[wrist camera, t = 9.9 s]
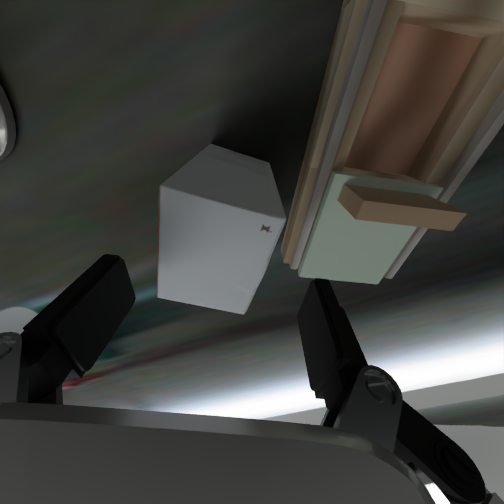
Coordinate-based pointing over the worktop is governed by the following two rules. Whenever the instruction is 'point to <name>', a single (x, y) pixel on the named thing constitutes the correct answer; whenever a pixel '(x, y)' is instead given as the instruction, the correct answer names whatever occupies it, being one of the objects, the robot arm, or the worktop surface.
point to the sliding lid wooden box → (403, 102)
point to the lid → (370, 225)
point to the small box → (217, 229)
